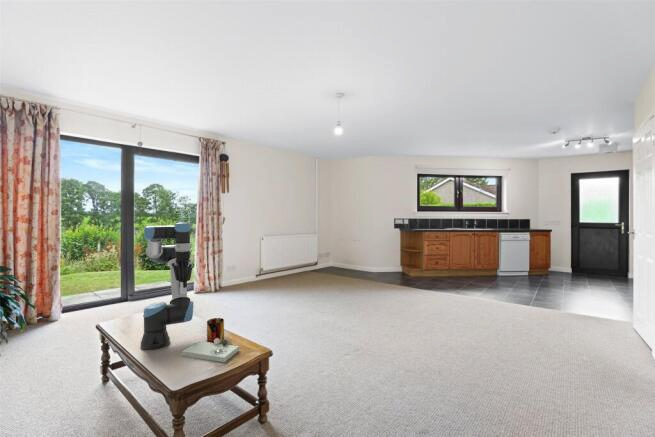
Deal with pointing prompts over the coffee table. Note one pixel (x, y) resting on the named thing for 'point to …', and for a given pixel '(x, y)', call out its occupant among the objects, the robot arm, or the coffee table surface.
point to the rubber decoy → (224, 342)
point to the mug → (215, 329)
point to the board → (210, 351)
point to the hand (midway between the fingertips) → (183, 293)
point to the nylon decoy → (216, 341)
